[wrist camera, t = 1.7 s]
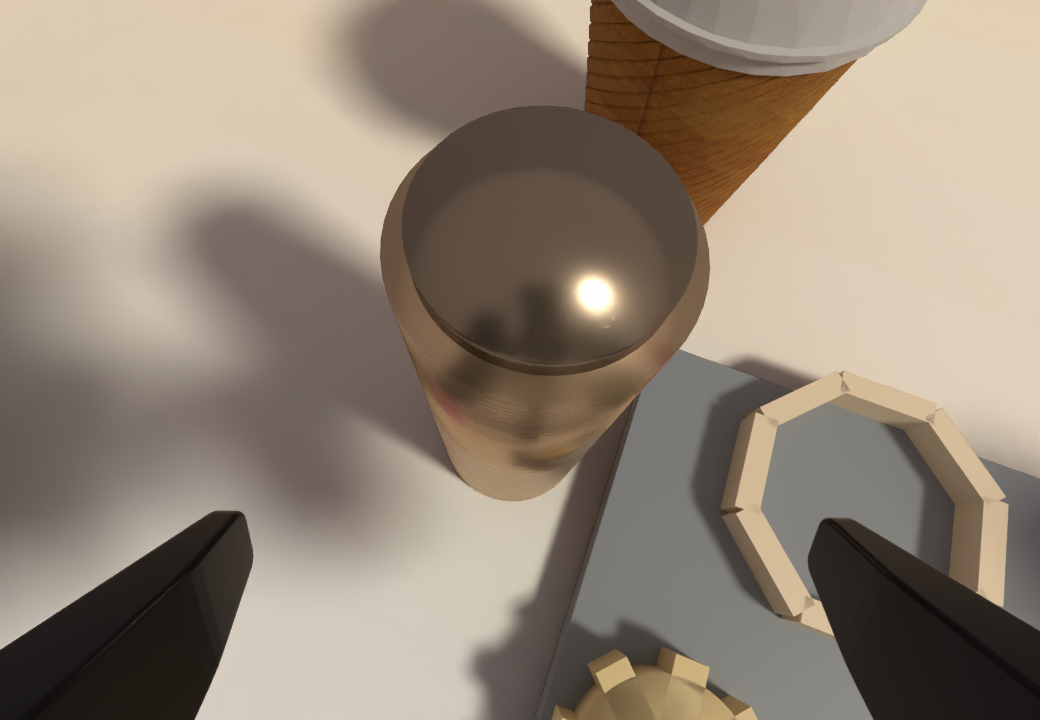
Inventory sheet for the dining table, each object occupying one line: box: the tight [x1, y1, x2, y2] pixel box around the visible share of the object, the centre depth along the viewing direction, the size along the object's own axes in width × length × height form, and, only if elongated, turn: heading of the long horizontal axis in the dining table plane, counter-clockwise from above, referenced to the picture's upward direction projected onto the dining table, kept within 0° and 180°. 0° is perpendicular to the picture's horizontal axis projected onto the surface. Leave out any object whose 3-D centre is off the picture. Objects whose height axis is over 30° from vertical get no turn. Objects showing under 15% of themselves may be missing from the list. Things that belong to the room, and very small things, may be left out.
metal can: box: [380, 106, 710, 501], centre depth 14 cm, size 5×5×14 cm
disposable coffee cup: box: [585, 0, 927, 225], centre depth 19 cm, size 10×10×12 cm
